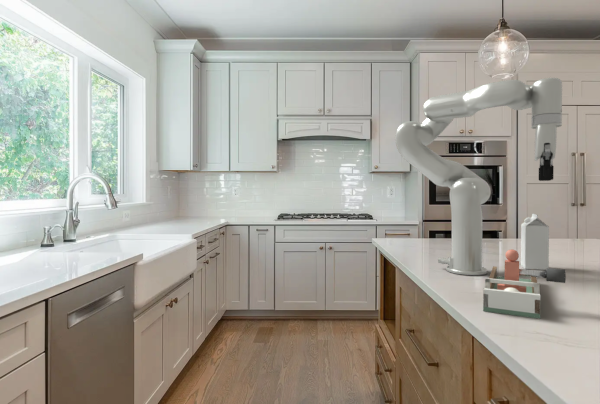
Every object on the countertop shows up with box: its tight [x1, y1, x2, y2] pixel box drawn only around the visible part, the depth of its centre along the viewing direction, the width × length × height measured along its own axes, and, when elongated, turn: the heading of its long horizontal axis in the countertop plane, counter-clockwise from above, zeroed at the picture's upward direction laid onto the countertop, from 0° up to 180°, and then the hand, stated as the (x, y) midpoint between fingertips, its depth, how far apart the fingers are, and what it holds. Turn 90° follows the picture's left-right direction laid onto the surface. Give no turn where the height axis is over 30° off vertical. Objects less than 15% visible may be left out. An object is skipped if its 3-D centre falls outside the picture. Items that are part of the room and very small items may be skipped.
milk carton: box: [520, 213, 550, 271], centre depth 136 cm, size 7×7×19 cm
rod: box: [497, 249, 567, 293], centre depth 91 cm, size 14×3×12 cm, turn 60°
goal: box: [482, 277, 541, 314], centre depth 88 cm, size 11×6×5 cm, turn 60°
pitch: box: [482, 266, 541, 320], centre depth 101 cm, size 11×36×4 cm, turn 150°
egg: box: [504, 287, 519, 292], centre depth 89 cm, size 4×4×4 cm
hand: (545, 180), depth 114 cm, fingers open, 9 cm apart
